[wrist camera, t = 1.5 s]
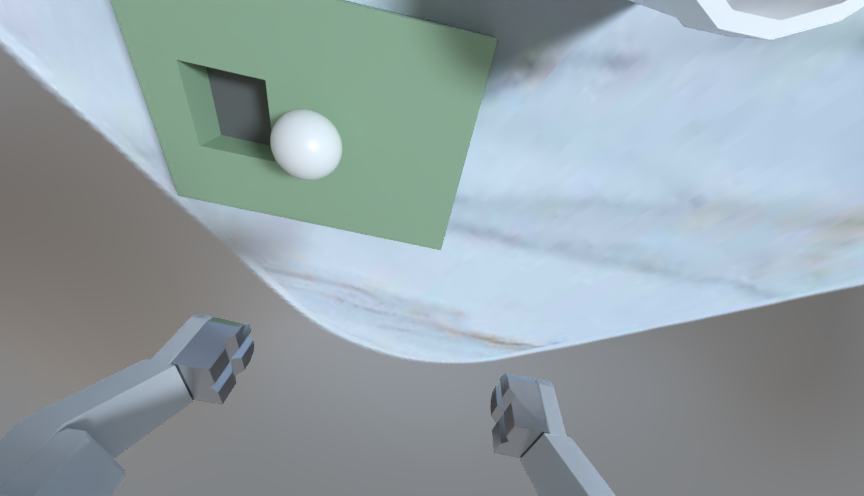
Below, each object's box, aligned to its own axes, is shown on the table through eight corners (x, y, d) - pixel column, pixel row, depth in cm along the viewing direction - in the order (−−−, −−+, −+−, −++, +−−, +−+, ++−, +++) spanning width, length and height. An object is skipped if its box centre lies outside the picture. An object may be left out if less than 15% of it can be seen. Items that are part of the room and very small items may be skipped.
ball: (286, 95, 24) (250, 112, 20) (351, 110, 24) (328, 129, 20) (291, 157, 27) (261, 183, 23) (349, 170, 27) (329, 197, 23)
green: (137, -51, 22) (89, -61, 19) (493, 36, 23) (497, 40, 20) (202, 180, 33) (178, 195, 30) (442, 230, 34) (440, 250, 31)
